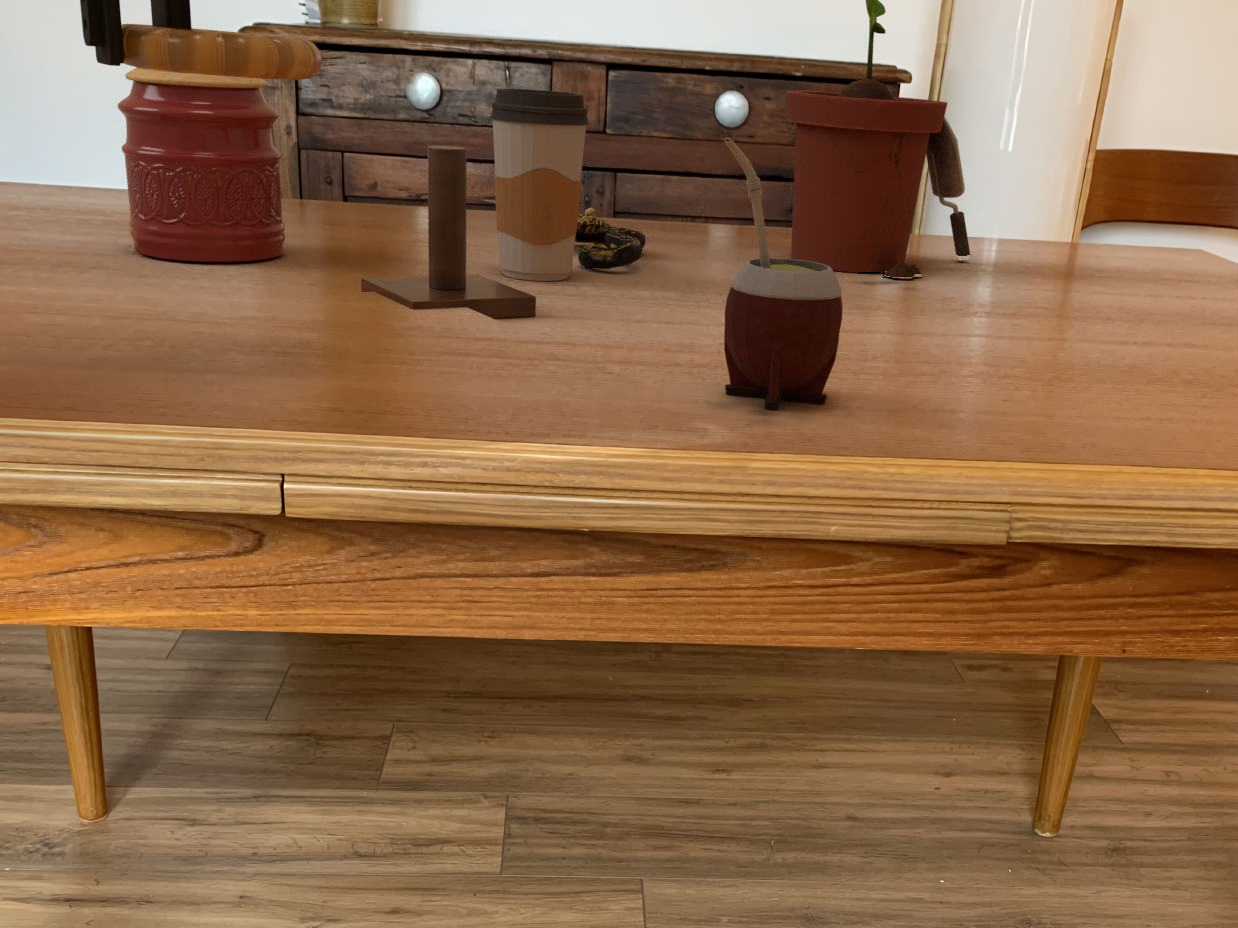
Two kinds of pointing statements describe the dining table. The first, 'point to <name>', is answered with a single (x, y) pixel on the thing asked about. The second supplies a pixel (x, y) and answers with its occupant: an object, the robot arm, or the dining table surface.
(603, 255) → the rubber snake
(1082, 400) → the dining table surface
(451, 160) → the wooden peg stand
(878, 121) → the potted plant
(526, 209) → the coffee cup
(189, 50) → the ring
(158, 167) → the kitchen canister
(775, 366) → the mate gourd
